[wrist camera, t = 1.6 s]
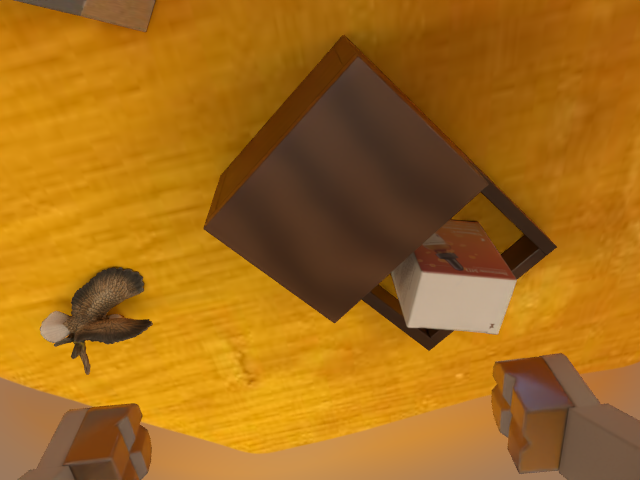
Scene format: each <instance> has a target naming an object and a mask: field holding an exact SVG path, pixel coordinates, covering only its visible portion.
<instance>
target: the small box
mask: <svg viewBox="0 0 640 480" xmlns="http://www.w3.org/2000/svg"><path fill="white" fill-rule="evenodd" d="M391 275H392V278H393V282H394V285H395V288H396V292H397V295H398V299H399V302H400V305H401V309H402V312H403V315H404V319H405V322H406V326H407V327H408V328H431V329H446V330H459V331H470V332H481V333H488V334H498V332H499V330H500V327H501V324H502V321H503V319H504V316H505V313H506V310H507V307H508V304H509V301H510V299H511V296H512V293H513V290H514V287H515V284H516V281H517V279H516V278H515V276H514V275H513V273H512V272H511V270H510V269H509V267H508V266H507V264H506V263H505V261H504V260H503V258H502V257H501V255H500V254H499V252H498V251H497V249H496V248H495V246H494V245H493V243H492V242H491V240H490V239H489V237H488V236H487V234H486V233H485V231H484V230H483V228H482V227H481V225H480V224H479V223H478V222H471V221H456V220H449V221H448V222H446V223H445V224H444V225H443V226H442V227H441V228H440V229H439V230H438V231H436V232H435V233H434V234H433V235H432V236H431V237H430V238H429V239H428V240H426V241H425V242H424V243H423V244H422V245H421V246H420V247H419V248H418V249H417V250H415V251H414V252H413V253H412V254H411V255H410V256H409V257H408V258H407V259H405V260H404V261H403V262H402V263H401V264H400V265H399V266H398V267H397V268H395V269H394V270H393V271H392V272H391Z"/></svg>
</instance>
